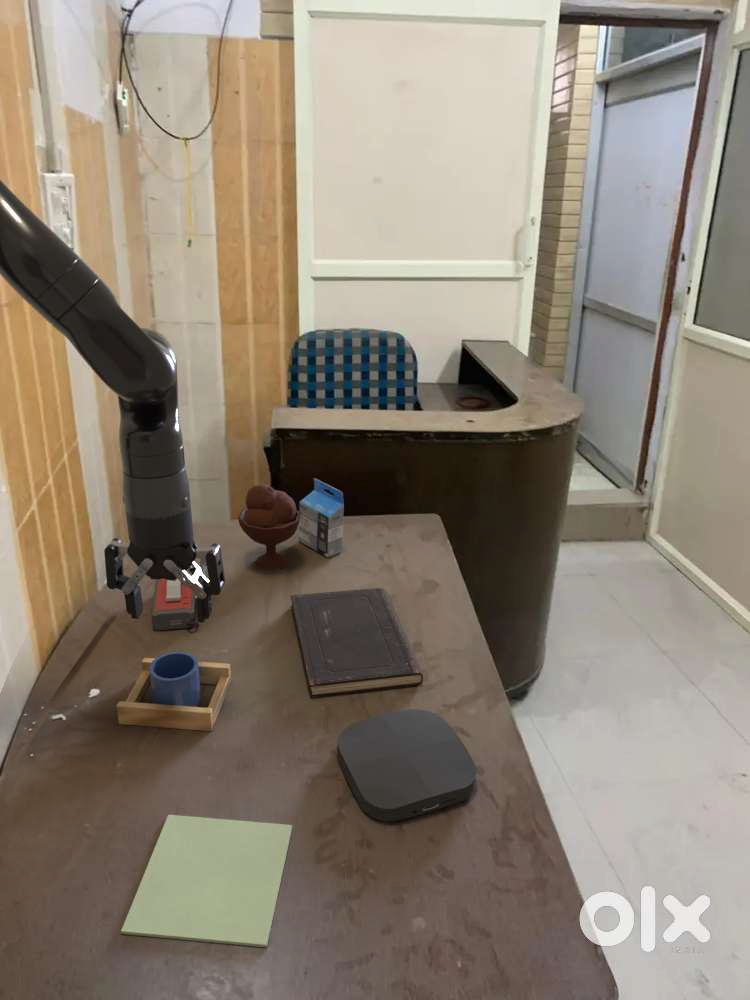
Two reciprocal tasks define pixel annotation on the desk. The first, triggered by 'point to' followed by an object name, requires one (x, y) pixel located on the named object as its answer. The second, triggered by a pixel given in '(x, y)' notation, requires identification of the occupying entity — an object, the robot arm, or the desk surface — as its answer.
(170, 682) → the small cup
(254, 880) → the mat
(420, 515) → the desk surface
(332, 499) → the label tape box
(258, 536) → the ice cream bowl
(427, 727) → the media streaming box
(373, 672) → the hardcover book
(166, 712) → the tray
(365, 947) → the desk surface
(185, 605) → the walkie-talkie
